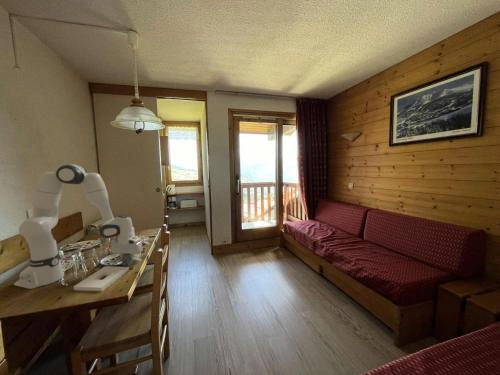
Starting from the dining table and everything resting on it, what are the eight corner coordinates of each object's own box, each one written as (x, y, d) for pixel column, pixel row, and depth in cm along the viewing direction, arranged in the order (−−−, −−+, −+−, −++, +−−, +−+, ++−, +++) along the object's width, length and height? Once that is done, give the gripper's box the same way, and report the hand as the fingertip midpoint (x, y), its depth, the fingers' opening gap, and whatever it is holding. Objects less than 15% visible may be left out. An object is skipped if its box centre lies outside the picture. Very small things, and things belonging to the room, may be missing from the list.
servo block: (120, 267, 137) (119, 255, 136) (130, 260, 147) (129, 249, 146) (126, 267, 137) (125, 256, 136) (135, 260, 147) (134, 249, 146)
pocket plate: (73, 290, 113) (73, 286, 113) (105, 269, 135) (104, 266, 135) (101, 291, 112) (101, 287, 112) (128, 270, 134) (128, 266, 133)
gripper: (107, 240, 138) (109, 261, 139) (137, 241, 136) (139, 261, 138) (114, 237, 144) (116, 256, 146) (143, 237, 142) (144, 257, 144)
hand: (127, 259), depth 142 cm, fingers open, 5 cm apart
